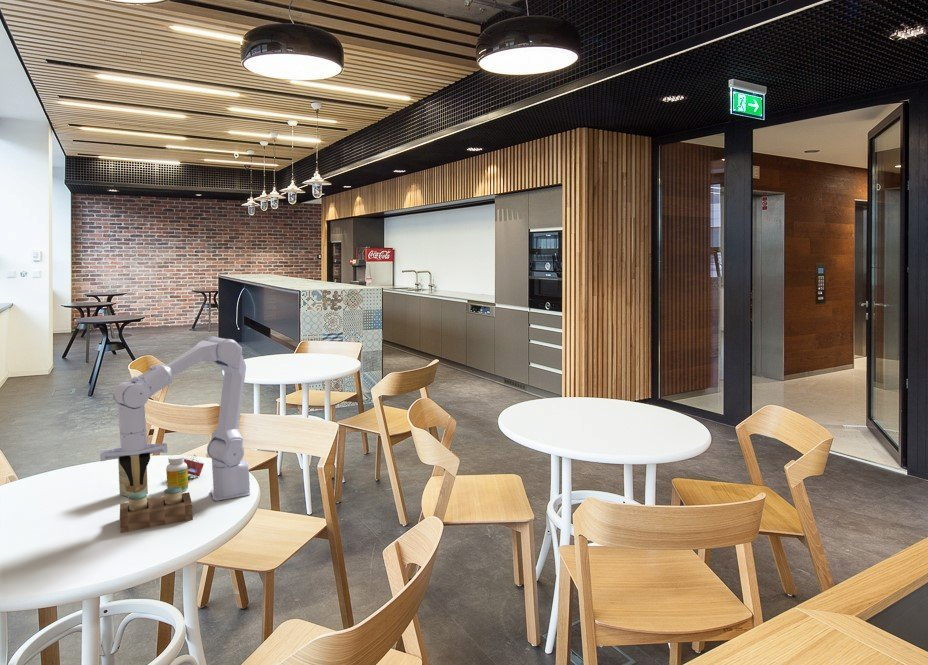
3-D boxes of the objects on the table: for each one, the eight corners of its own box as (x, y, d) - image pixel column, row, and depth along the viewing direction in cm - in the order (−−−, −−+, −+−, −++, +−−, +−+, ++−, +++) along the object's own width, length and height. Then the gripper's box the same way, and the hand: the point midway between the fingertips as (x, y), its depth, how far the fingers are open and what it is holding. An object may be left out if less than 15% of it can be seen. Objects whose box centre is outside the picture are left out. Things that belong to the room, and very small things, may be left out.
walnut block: (190, 506, 164) (189, 492, 163) (192, 519, 156) (192, 504, 155) (121, 518, 156) (120, 503, 156) (120, 532, 148) (119, 516, 148)
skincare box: (119, 495, 171) (116, 453, 170) (132, 490, 175) (130, 448, 174) (135, 499, 169) (133, 455, 167) (149, 493, 173) (146, 451, 171)
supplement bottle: (180, 494, 172) (178, 460, 171) (163, 492, 173) (161, 459, 172) (192, 487, 177) (190, 454, 176) (175, 485, 179) (173, 453, 177)
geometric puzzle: (210, 465, 190) (192, 446, 188) (207, 472, 183) (189, 453, 181) (191, 480, 189) (172, 461, 186) (187, 488, 182) (168, 469, 180)
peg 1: (147, 506, 156) (146, 491, 156) (147, 512, 153) (146, 496, 152) (129, 509, 155) (128, 494, 154) (129, 515, 151) (128, 499, 151)
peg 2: (181, 500, 160) (180, 485, 160) (182, 506, 157) (182, 490, 156) (164, 503, 158) (163, 488, 158) (165, 509, 155) (164, 493, 154)
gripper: (165, 423, 158) (168, 474, 160) (99, 430, 151) (103, 483, 153) (166, 430, 152) (169, 483, 154) (98, 438, 145) (102, 493, 147)
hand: (136, 484), depth 153 cm, fingers closed
